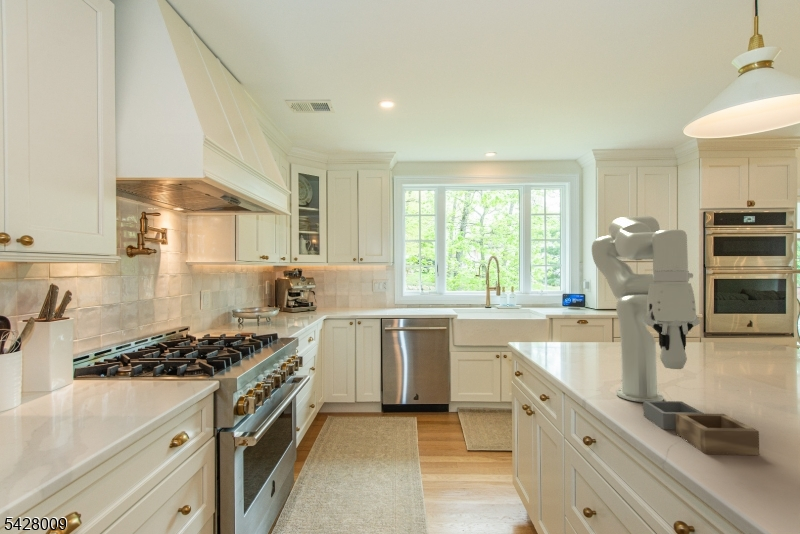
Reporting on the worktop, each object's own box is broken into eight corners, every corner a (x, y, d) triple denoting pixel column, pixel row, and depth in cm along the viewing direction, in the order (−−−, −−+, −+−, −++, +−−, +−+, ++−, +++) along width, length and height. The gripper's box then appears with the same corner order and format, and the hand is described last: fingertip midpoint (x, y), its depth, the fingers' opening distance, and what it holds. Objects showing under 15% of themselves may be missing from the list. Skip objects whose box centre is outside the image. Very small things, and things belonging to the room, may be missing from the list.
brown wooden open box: (676, 434, 99) (675, 413, 99) (724, 434, 98) (723, 413, 98) (705, 454, 88) (704, 430, 88) (759, 455, 87) (758, 431, 87)
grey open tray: (643, 415, 112) (643, 401, 112) (681, 416, 111) (681, 401, 111) (663, 429, 102) (663, 413, 102) (705, 430, 101) (705, 413, 101)
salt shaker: (676, 364, 109) (675, 315, 109) (692, 369, 103) (691, 317, 103) (655, 365, 109) (653, 315, 109) (669, 370, 103) (668, 318, 103)
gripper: (695, 277, 109) (697, 346, 109) (630, 278, 111) (632, 347, 110) (714, 277, 102) (716, 352, 101) (644, 278, 103) (646, 352, 103)
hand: (672, 348), depth 106 cm, fingers closed on salt shaker, 3 cm apart
